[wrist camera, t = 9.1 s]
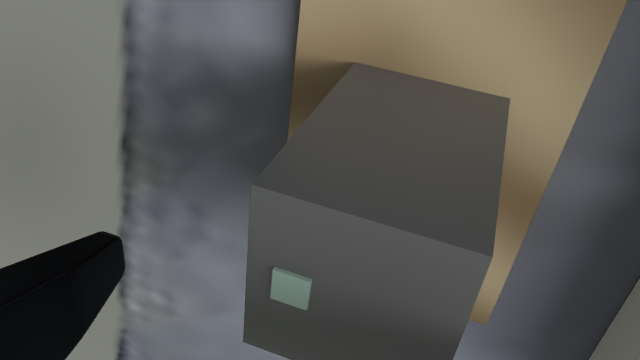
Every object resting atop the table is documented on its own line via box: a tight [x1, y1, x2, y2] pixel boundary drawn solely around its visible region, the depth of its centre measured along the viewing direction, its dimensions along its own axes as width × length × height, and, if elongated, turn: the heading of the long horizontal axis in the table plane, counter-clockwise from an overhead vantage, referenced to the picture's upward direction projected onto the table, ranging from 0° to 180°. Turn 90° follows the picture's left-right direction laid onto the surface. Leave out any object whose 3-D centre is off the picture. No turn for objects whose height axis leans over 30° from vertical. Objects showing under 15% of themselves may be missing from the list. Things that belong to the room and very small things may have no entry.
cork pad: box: [287, 0, 628, 325], centre depth 16 cm, size 12×8×1 cm, turn 173°
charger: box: [243, 62, 510, 360], centre depth 13 cm, size 4×4×7 cm
